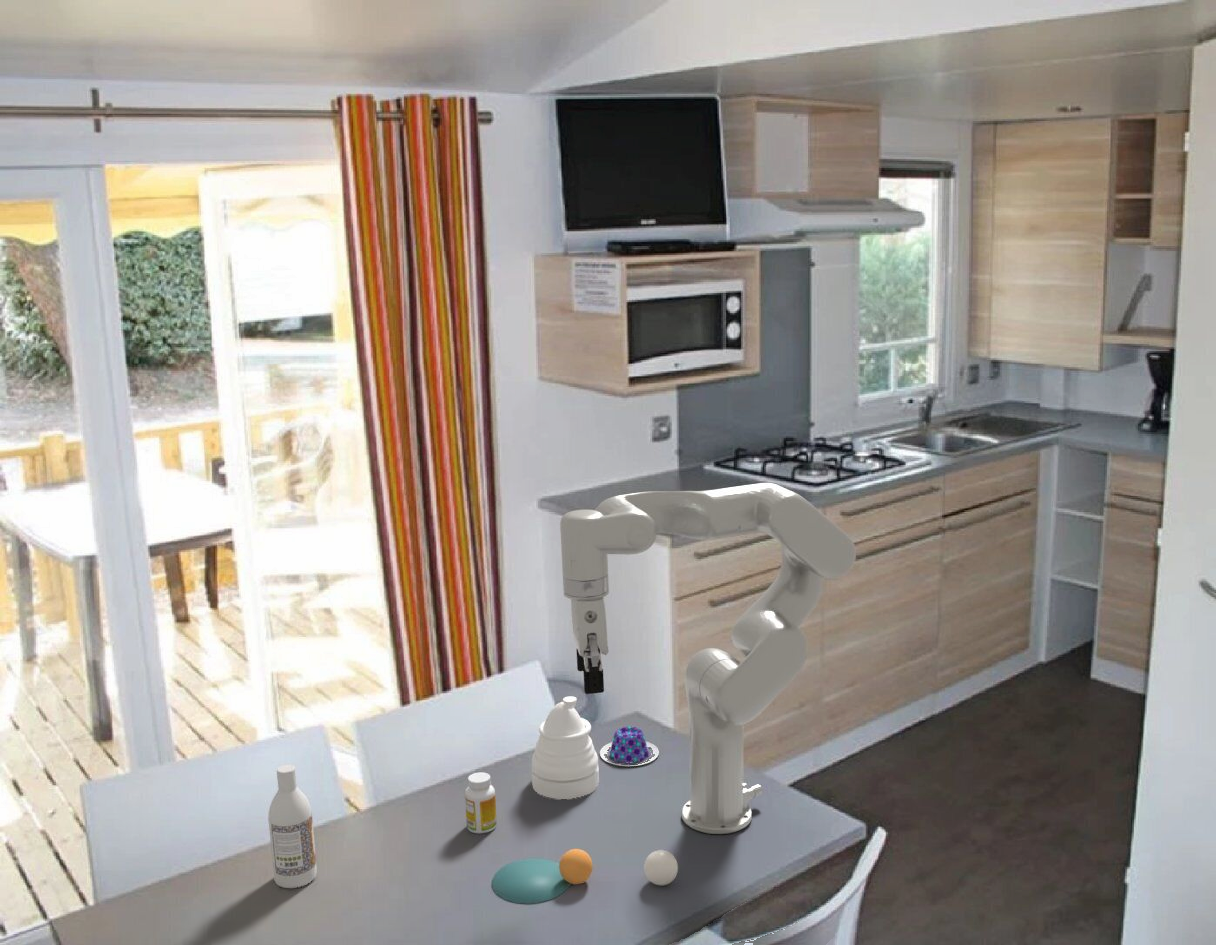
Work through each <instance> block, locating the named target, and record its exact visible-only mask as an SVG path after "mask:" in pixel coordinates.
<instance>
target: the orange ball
mask: <svg viewBox="0 0 1216 945" xmlns="http://www.w3.org/2000/svg"><path fill="white" fill-rule="evenodd" d="M593 864H594V863H593V860H592V857H591V856H590V854H588V853H587V852H586V851H585V850H583V849H580V848H572V849H569V850H568V851H566V852H564V854H563V855H562V856H561V858H560V860H559V870H560V873H561V876H562V877H563V878H564V880H566V881H567V882H569V883H570V885H580V884H583V883H585V882H586V881H587V880H588V879H589V878H590V877H591V875H592V873H593V868H594V866H593Z"/></svg>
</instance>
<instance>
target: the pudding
mask: <svg viewBox="0 0 1216 945" xmlns="http://www.w3.org/2000/svg"><path fill="white" fill-rule="evenodd" d="M612 738H613V739H612V741H611V742H609V743H607V744H605V745H603V747H602V748H601V749H600V751H599V756H600V757H601V759H602V760H603V761H605V762H607V763H609V764H612V765H614V766H620V767H636V766H637V767H638V766H642V765H646V764H649V763H651V762H653V761H655V760H656V758H658V756H659V754H660V751H659V749H658V746H656V745H655V744H653V743H651V742H649V741H647V740H646V738H645V735H644V732H643V730H642V729H641V728H637V727H635V726H623V727H620V728H617V729H616V730H615V733H614V734H613V737H612ZM609 747H611V749H610V750H609V751H607V750H608V749H609ZM647 747H651V748H652V750H653V754H655V756H654V757H652V758H651V759H649V757H650V753H649V749H648V748H647ZM607 752H608V753H609V754H610V756H609V758H611V757H614V759H613V760H612V761H614V760H616V761H623V762H622V763H624V762H625V763H624V764H628V763H629V764H631V763H630V762H634V761H642V760H644V762H645V759H647V758H646V757H648V756H649V757H648V759H649V760H650V761H648V762H645V763H642V762H643V761H642V762H641V763H642V764H638V763H637V764H638V765H629V764H628V765H621V764H622V763H619V764H615V763H612V762H609V761H607V760H608V759H607V758H605V756H604V754H607V755H608V753H607ZM616 761H615V762H616ZM626 762H628V763H626ZM634 763H635V762H634Z"/></svg>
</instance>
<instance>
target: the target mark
mask: <svg viewBox="0 0 1216 945" xmlns="http://www.w3.org/2000/svg"><path fill="white" fill-rule="evenodd" d="M559 864H560V862H558V861H554V860H550V859H546V858H545V859H544V858H535V857H534V858H525V859H519V860H516V861H515V860H514V861H512V862H511V863H507V864H505V865H504V866H502V867H501V868H500V869H498V870H497V871H496V872H495V874H494V875H493V878H492V880H491V881H492V882H491V886H492V890H493V891H494V892H495V894H496V895H497V896H499V897H500V898H502V899H504V900H506V901H509V902H512V903H516V904H529V905H530V904H539V903H544V902H547V901H550V900H553V899H555V898H557V897H559V896H561V895H562V894H563V893H565V892H566V891H567V889H568V888H569V887H570V885H571V883H569V882H567V881H566V880H564V878H563V877H562V876H561V873H560V870H559Z"/></svg>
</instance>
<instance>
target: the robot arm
mask: <svg viewBox="0 0 1216 945" xmlns="http://www.w3.org/2000/svg"><path fill="white" fill-rule="evenodd" d="M559 525H560V528H559V529H560V543H561V544H560V545H561V547H560V548H561V550H560V551H561V566H562V584H563V585H562V588H563V590H562V591H563V596H564V597H566V598H567V599H570V605H571V606H570V607H571V622H572V624H571V625H572V631H573V638H574V642H575V646H576V664H577V666H576V668H577V671H578V672H583V688H584V690H583V691H584V693H585V695H590V694H592V695H593V694H594V695H595V694H601V693H604V691H605V686H604V685H605V683H604V682H605V681H604V669H603V664H602V663H603V662H602V655H604V656H607V655H608V654H609V643H608V629H607V615H606V608H605V606H606V605H605V599H604V597H606V596H608V595H609V592H610V590H609V587H610V586H609V585H610V583H609V565H608V562H609V560H608V559H609V558H608V555H629V556H630V555H637V554H641V553H644V552H646V551H647V550H649V549H650V548H651V547H652V546H653V545H654V543H655V542H656V538H657V534H671V535H676V536H681V537H684V538H688V539H693V540H699V541H700V540H701V541H715V540H722V539H728V538H734V537H741V536H747V535H754V534H766V535H768V536H770V537H772V538H773V539H775V540H777V541H778V542H779V543H780V546H781V547H780V548H781V563H780V564H781V565H780V569H779V572H778V574H777V576H776V578H775V579H774V581H773V582H772V583H771V584H770V585H769V587H768V588H767V589H766V590H765V591H764V592H763V593H762V594H761V595H760V597H759V598H757V600H756V601H755V602H754V603H753V604H751V606H750V607H749V608H748V609H746V611H745V612H744V613H743V614H742V615H741V616H740V617H739V618H738V619H737V621H736V622H735V623H734V625H733V626H732V629H731V633H730V636H731V637H730V638H731V641H732V644H733V646H734V647H735V649H736V650H737V651H738V652H739V653H740V654H741V655H742V656H744V659H743V660H742V661H739V660H738V659H737V658H735V657H734V656H732V655H731V654H730V653H729V652H727V651H724V650H722V649H720V648H715V647H709V648H704V649H701V650H698V651H697V652H696V653H695V654H693V656H692V657H691V658H690V659H689V661H688V663H687V665H686V668H685V673H684V686H685V688H684V689H685V693H686V699H687V707H688V715H689V716H688V717H689V719H688V720H689V797H690V799H689V800H688V801H687V802H686V803H685V804H684V805H683V807H682V809H681V818H682V820H683V822H684V824H686V825H687V826H688V827H690V829H692V830H695V831H698V832H700V833H705V834H711V835H712V834H713V835H724V834H726V835H727V834H732V833H736V832H739V831H741V830H743V829H744V828H746V827H747V826H748V825H750V823H751V822H752V818H753V816H752V815H753V812H752V808H751V807H750V805H748V802H750V801H751V799H752V798H756V797H758V796H760V795H762V794H763V788H762V786H761V785H760V784H754V785H752V786H750V787H749V788H748V785H747V783H746V782H744V724H747V723H749V722H752V721H753V720H755V718H757V717H759V716H760V715H761V714H762V712H764V711H765V710H766V709H767V708H768V706H770V704H772V702H773V701H774V700H775V699H776V698H777V697H779V695H780V694H781V693H782V692H783V691H784V690H785V689H786V688H787V687H788V686H789V685H790V684H791V683H792V682H793V681H794V679H795V678H796V677H797V676H798V675H799V673H801V671H802V669H803V667H804V665H805V664H806V661H807V657H808V654H809V642H808V640H807V637H806V635H805V634H804V632H803V631H802V629H800V628H799V627H800V626H801V625H802V624H803V623H804V622H805V621H806V619H807V618H808V616H810V615H811V614H812V612H813V611H814V610H815V608H816V606H817V605H818V603H819V600H820V598H821V594H822V590H823V589H822V588H823V583H824V579H828V580H829V579H830V580H831V579H835V580H836V579H839V578H842V577H844V576H846V575H847V574H848V573H849V572H850V571H851V570H852V569H853V567H854V564H855V562H856V558H857V550H856V546H855V544H854V541H853V540H852V538H851V536H849V535H848V534H847V533H846V532H845V531H844V530H843V529H842V528H840V527H839V525H837V524H835V523H834V522H833V521H832V520H831V519H830V518H828V516H826V515H825V514H824V513H822V512H821V511H820V510H819V509H818V508H816V507H815V506H814V505H813V504H812V503H811V502H810V501H808V500H807V499H806V498H805V497H803V496H801V495H800V494H798V493H797V492H795V491H792V490H791V489H788V488H785V487H783V486H782V485H779V484H776V483H772V482H760V483H758V482H757V483H752V484H744V485H743V484H742V485H738V486H736V485H735V486H731V487H723V488H716V489H715V488H713V489H707V490H676V491H674V490H673V491H671V490H668V491H667V490H664V491H663V490H661V491H658V490H655V491H653V490H651V491H642V492H634V493H627V494H620V495H614V496H612V497H609V498H606V499H605V500H602V501H601V502H600V504H599V505H598V506H597V507H596V508H595V509H575V510H571V511H568V512H565V513H564V514H563V516H561V518H560V524H559Z"/></svg>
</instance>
